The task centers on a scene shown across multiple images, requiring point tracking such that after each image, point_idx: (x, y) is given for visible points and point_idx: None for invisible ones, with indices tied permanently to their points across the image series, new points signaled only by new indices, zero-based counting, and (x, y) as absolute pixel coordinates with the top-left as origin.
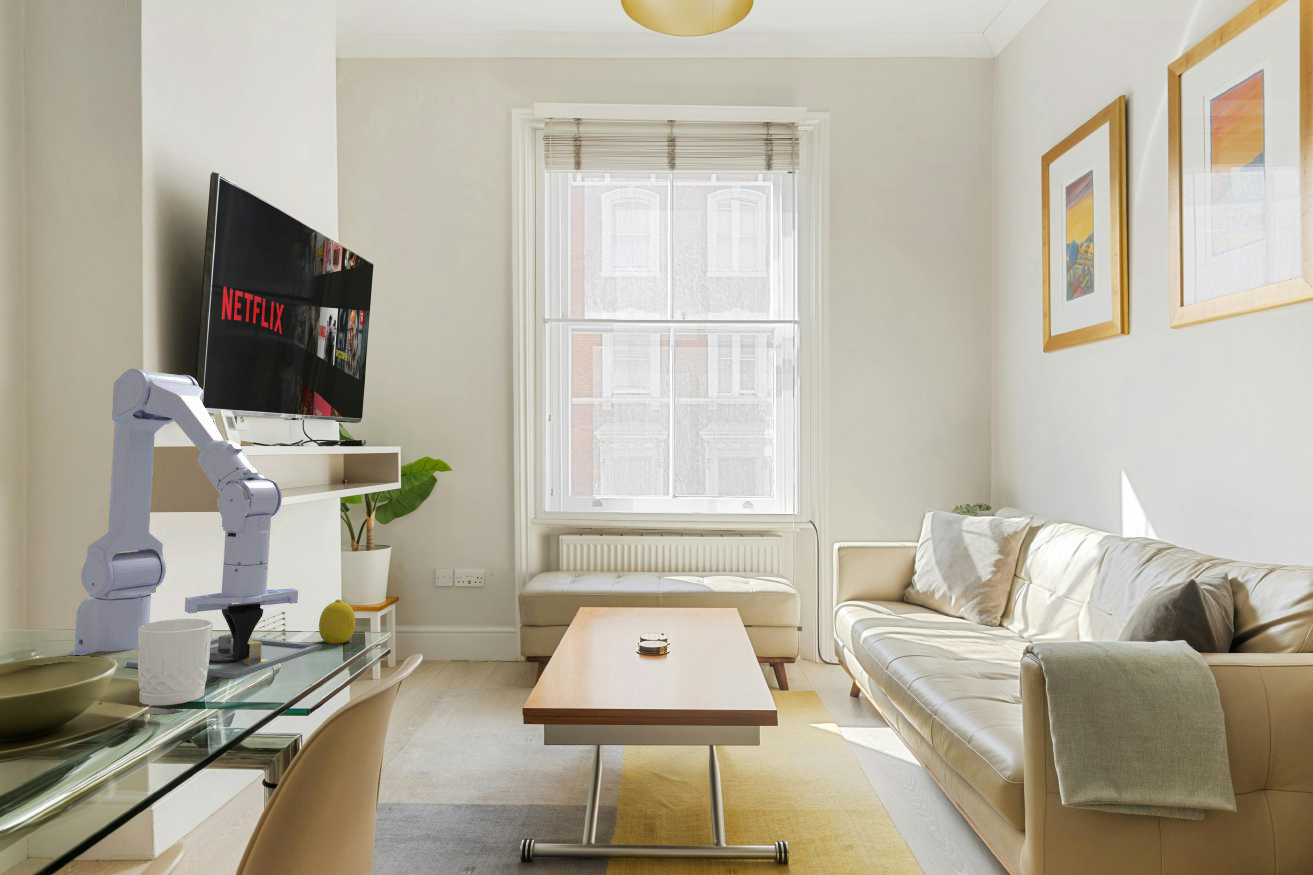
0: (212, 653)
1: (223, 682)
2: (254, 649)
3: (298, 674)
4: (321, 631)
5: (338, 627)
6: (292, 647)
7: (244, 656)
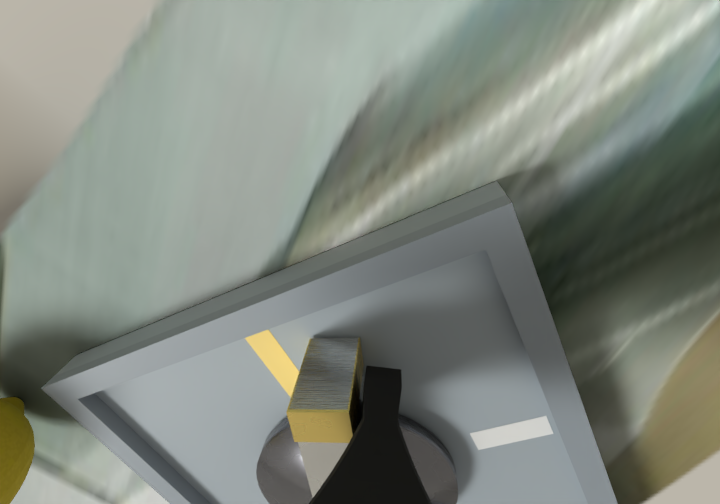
0: None
1: None
2: (328, 387)
3: (206, 186)
4: (10, 467)
5: None
6: (147, 442)
7: (374, 373)
